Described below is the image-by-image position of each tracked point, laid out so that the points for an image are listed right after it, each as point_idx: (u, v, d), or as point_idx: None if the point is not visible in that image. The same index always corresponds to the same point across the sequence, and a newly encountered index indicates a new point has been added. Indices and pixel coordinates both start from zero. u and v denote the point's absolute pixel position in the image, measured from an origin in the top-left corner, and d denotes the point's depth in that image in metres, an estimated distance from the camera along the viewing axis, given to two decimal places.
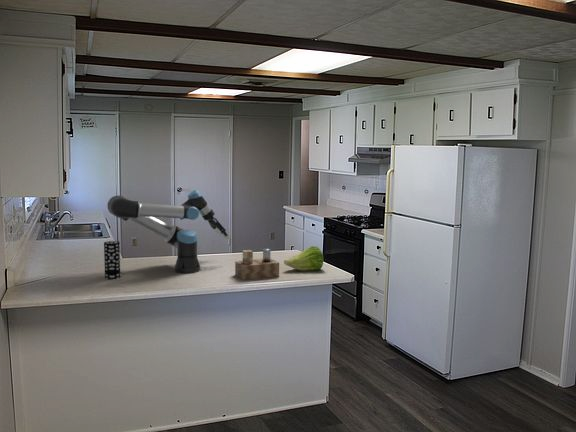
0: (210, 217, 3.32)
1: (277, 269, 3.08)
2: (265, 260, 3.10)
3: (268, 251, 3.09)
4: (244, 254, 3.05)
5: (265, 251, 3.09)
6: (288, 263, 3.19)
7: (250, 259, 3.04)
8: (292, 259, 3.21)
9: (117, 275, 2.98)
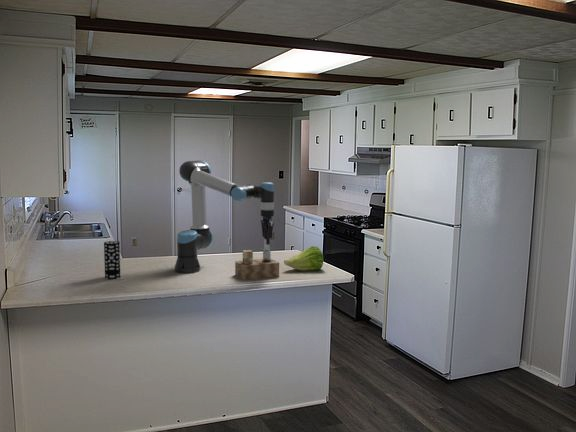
0: (269, 215, 3.05)
1: (277, 269, 3.08)
2: (265, 261, 3.10)
3: (268, 251, 3.09)
4: (244, 254, 3.05)
5: (265, 252, 3.09)
6: (288, 263, 3.19)
7: (250, 259, 3.04)
8: (292, 259, 3.21)
9: (117, 275, 2.98)
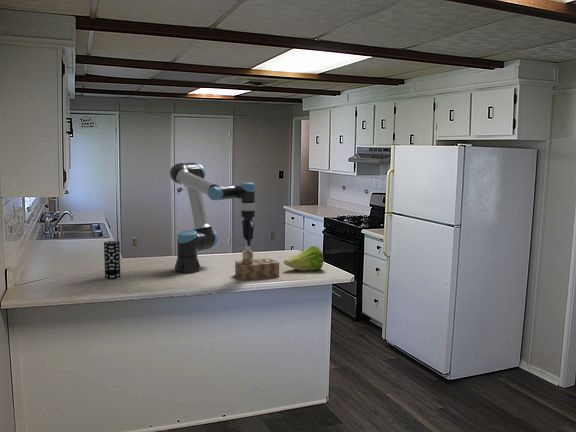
0: (249, 216, 2.99)
1: (277, 269, 3.08)
2: None
3: None
4: (244, 255, 3.05)
5: None
6: (288, 263, 3.19)
7: (250, 259, 3.04)
8: (292, 259, 3.21)
9: (117, 275, 2.98)
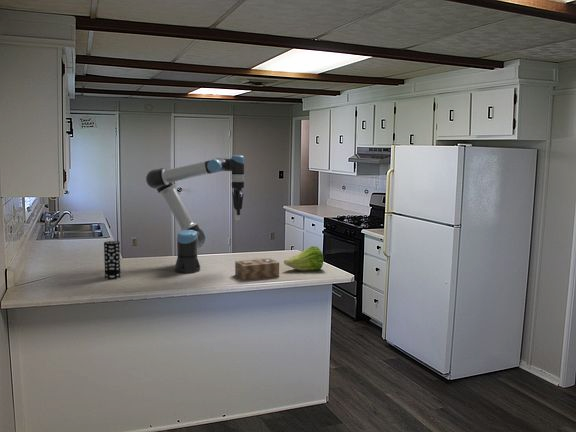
0: (239, 187, 3.19)
1: (277, 269, 3.08)
2: None
3: None
4: None
5: None
6: (288, 263, 3.19)
7: None
8: (292, 259, 3.21)
9: (117, 275, 2.98)
